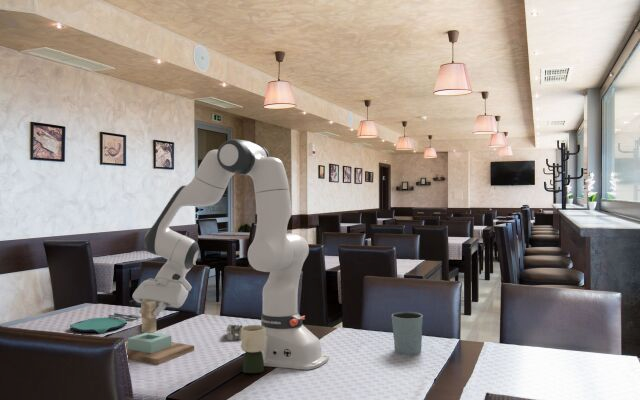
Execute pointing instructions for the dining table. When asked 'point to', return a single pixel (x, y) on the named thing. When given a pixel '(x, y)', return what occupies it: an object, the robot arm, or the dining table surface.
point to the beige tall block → (148, 317)
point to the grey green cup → (407, 332)
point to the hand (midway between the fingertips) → (147, 314)
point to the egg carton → (235, 330)
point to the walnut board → (160, 353)
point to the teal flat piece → (102, 323)
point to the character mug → (253, 348)
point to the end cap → (149, 342)
